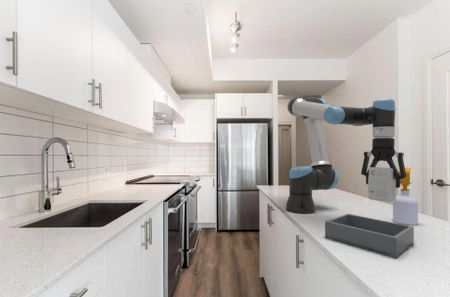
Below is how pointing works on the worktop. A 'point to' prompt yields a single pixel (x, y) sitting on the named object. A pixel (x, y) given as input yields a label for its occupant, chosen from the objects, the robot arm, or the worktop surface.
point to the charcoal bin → (371, 234)
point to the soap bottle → (405, 204)
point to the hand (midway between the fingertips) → (382, 194)
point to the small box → (381, 184)
